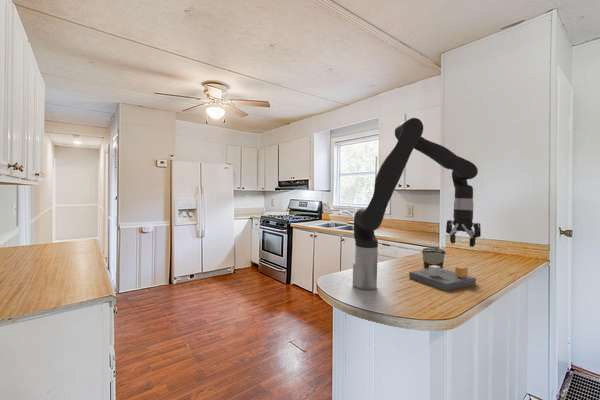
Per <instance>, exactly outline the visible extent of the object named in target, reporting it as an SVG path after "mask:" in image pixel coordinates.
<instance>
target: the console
mask: <svg viewBox="0 0 600 400" xmlns="http://www.w3.org/2000/svg"><path fill="white" fill-rule="evenodd" d="M408 276H409V279H411V280H413V281H417V282H420V283H422V284H426V285H428V286H430V287H434V288H437V289H440V290H443V291H445V292H449V291H454V290H458V289H462V288H466V287H471V286H475V285H476V283H477V277H474V276H470V275H467V277H463V278H461V277H458V276H455V271H452V270H449V269H445V268H443V269H441V273H440V276H435V277H434V276H431V275H429V268H423V269H417V270H413V271H412V270H411V271H409V275H408Z"/></svg>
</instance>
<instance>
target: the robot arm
mask: <svg viewBox="0 0 600 400" xmlns="http://www.w3.org/2000/svg"><path fill="white" fill-rule="evenodd" d="M423 132H424V124H423V121H421V119H420V118H417V117H411V118H408V119H406V120H404V121H403V122H401V123H399V124H398V125H396V127H395V129H394V136H395V138H396V140H397V142H396V144H395V146H394V147H393V149H392V150H391V151H390V153H388V155H387V156H386V158H385V159H384V161H383V162H382V163H381V165H380V168H379V170H378V172H377V174H376V176H375V180H374V189H373V194H372V197H371V200H370V201H369V204H368V205H367V207H362V208H359V209H358V210H357V211H355V214H354V218H353V238H354V241H355V246H354V247H355V251H354V254H355V255H354V259H355V260H354V262H353V264H352V286H354V287H355V288H357V289H359V290H361V291H362V290H368V291H369V290H370V291H371V290H375V289H376V288H377V287H378V285H377V284H378V253H379V251H378V250H379V242H378V239H377V237H376V234H375V231H376V230H378V228H380V226H381V225H382V222H383V220H384V216H385V214H386V210H387V208H388V205H389V202H390V200H391V198H392V196H393V194H394V192H395V189H396V187H397V185H398V184H399V181H400V179H401V177H402V175H403V172H404V170H405V168H406V166H407V164H408V161H409V159H410V157H411V155H412V152H413V150H414V149H415V150H416V151H418V152H419V153H422V154H423V155H425V156H427V157H428V158H429V159H431V160H433V161H434V162H436V163H437V164H438V165H440V166H441V167H443V168H444V169H446V170H451V171H452V172H451V178H452V182H453V183H452V184H453V187H454V200H453V216H452V217H453V219H449V220H446V226H445V233H446V234H449V241H450V243H451V244H455V243H456V234H457V233H458V232H464V233H466V234H467V235H468V236H469V247H471V248H473V247H475V246H476V239H477V238H480V237H481V236H482V231H481V223H480V222H474V221H473V220H474V187H473V185H470V184H469V183H468V180H472V179H474V178H476V177H477V175H478V170H479V169H478V167H477V166H476V164H474V163H473V162H472V161H470V160H468V159H465V158H463V157H461V156H459V155H456V153H454V152H453V151H451V150H450V149H448V148H447V147H445V146H443V145H441V144H438V143H436V142H433V141H431V140H428V139H426V138H424V137H423V136H422V135H423ZM453 226H454V227H453Z"/></svg>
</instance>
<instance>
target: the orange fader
mask: <svg viewBox="0 0 600 400" xmlns="http://www.w3.org/2000/svg"><path fill="white" fill-rule="evenodd" d="M454 270H455V271H454V272H455V276H458V277H461V278H463V277H467V276H468V270H469V269H468V267H466V266H462V265H461V266H460V265H459V266H455V269H454Z"/></svg>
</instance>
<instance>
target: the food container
mask: <svg viewBox="0 0 600 400" xmlns="http://www.w3.org/2000/svg"><path fill="white" fill-rule="evenodd" d="M421 254H422V259H423V261H422V262H423V269H429V266H432V265H436V266H440V267H441V269H444V268H443V267H444V260H445V255H447V253H446V250H445V249H441V248H435V247H434V248H433V247H424V248H422V250H421Z"/></svg>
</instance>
